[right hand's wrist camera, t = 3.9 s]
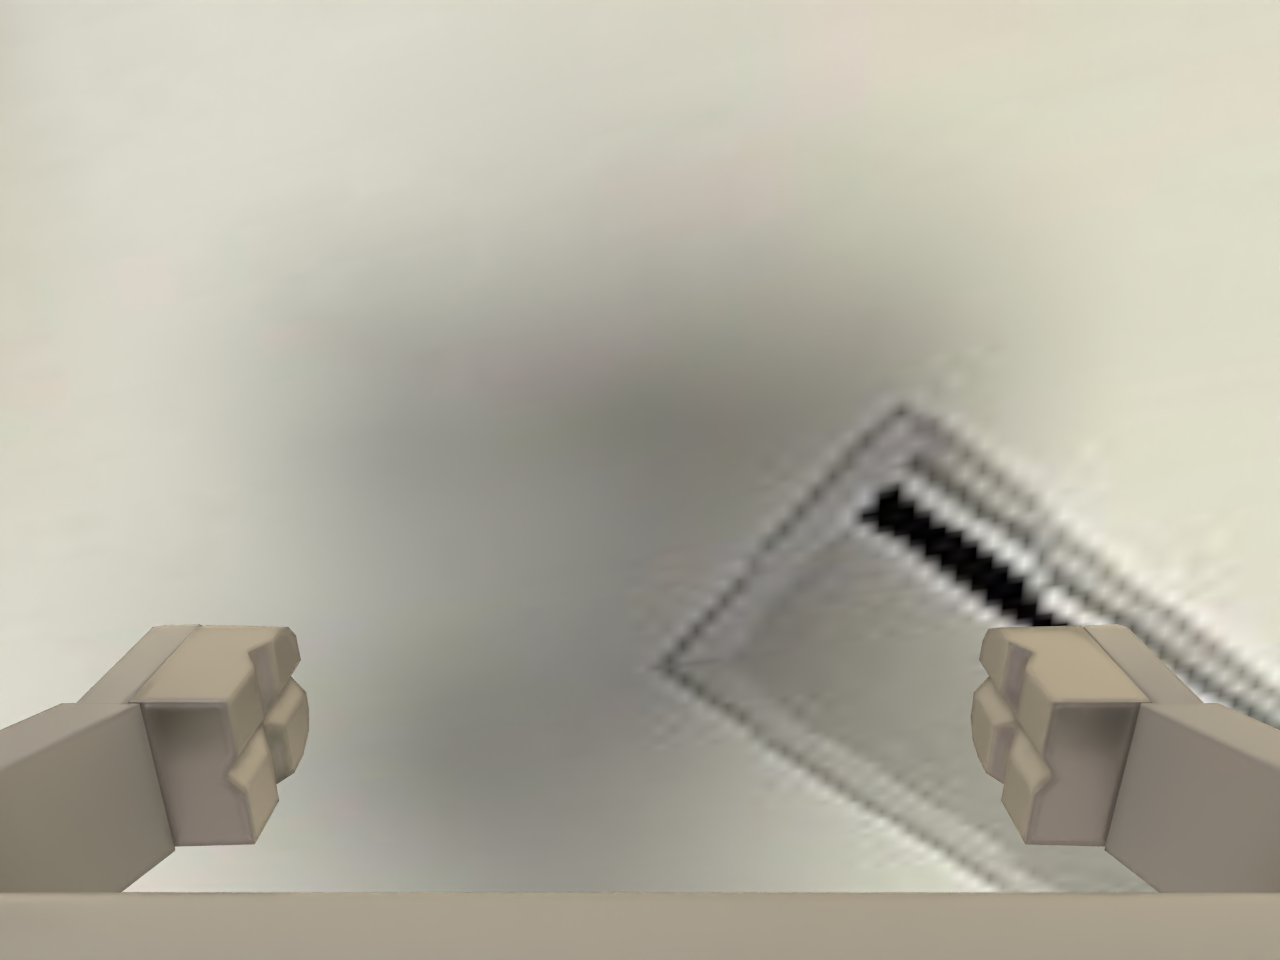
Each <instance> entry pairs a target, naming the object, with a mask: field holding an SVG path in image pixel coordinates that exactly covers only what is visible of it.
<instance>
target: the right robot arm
mask: <svg viewBox="0 0 1280 960" xmlns="http://www.w3.org/2000/svg"><path fill="white" fill-rule="evenodd" d="M300 661H301V658H300V653H299V648H298V643H297V638H296V635H295V634H294V633H293V632H292V630H291V629H290V628H289V627H266V626H214V625H206V626H202V625H163V626H157V627H153V628H152V629H151V630H150V631H149V632H148V633H147V634H146V635H144V636H143V637H142V638H141V639H140V640H139V641H138V642H137V643H136V644H135V645H134V646H133V647H132V648H131V649H130V650H129V651H128V652H127V653H126V654H125V655H124V656H123V657H122V658H121V659H120V660H119V661H118V662H117V663H116V664H115V665H114V666H113V667H112V668H111V669H110V670H109V671H108V672H107V673H106V674H105V675H104V676H103V677H102V678H101V679H100V680H99V681H98V682H97V683H96V684H95V685H94V686H93V687H92V688H91V689H90V690H89V691H88V692H87V693H86V694H85V695H84V696H83V697H82V698H81V699H80V700H79V701H78V702H77V703H62V704H59V705H57V706H55V707H52V708H50V709H48V710H45V711H43V712H41V713H39V714H36V715H34V716H32V717H29V718H27V719H25V720H23V721H20V722H18V723H16V724H13V725H11V726H9V727H6V728H4V729H2V730H0V960H1280V730H1278V729H1276V728H1273V727H1271V726H1269V725H1267V724H1264V723H1262V722H1260V721H1257V720H1255V719H1253V718H1251V717H1248V716H1246V715H1244V714H1241V713H1239V712H1237V711H1234V710H1232V709H1230V708H1228V707H1225V706H1223V705H1221V704H1218V703H1203V702H1202V701H1201V700H1200V699H1199V698H1198V697H1197V696H1196V695H1195V694H1194V693H1193V692H1192V691H1191V690H1190V689H1189V688H1188V687H1187V686H1186V685H1185V684H1184V683H1183V682H1182V681H1181V680H1180V679H1179V678H1178V677H1177V676H1176V675H1175V674H1174V673H1173V672H1172V671H1171V670H1170V669H1169V668H1168V667H1167V666H1166V665H1165V664H1164V663H1163V662H1162V661H1161V660H1160V659H1159V658H1158V657H1157V656H1156V655H1155V654H1154V653H1153V652H1152V651H1151V650H1150V649H1149V648H1148V647H1147V646H1146V645H1145V644H1144V643H1143V642H1142V641H1141V640H1140V639H1139V638H1138V637H1137V636H1136V635H1135V634H1134V633H1133V632H1132V631H1131V630H1130V629H1129V628H1126V627H1123V626H1121V625H1118V624H1113V625H1088V626H1047V627H1006V628H990V629H988V630H987V632H986V634H985V637H984V639H983V641H982V646H981V652H980V658H979V661H980V662H981V664H982V665H983V667H984V668H985V670H986V672H987V673H988V675H989V677H988V678H987V679H986V680H985V681H984V682H983V683H982V684H981V685H980V686H979V687H978V688H977V690H976V691H975V692H974V694H973V702H972V710H971V726H972V738H973V743H974V746H975V749H976V753H977V756H978V758H979V760H980V762H981V764H982V766H983V768H984V770H985V772H986V773H987V774H989V775H990V776H992V777H993V778H995V779H996V780H998V781H999V782H1001V783H1003V784H1004V786H1003V792H1002V798H1001V801H1002V803H1003V805H1004V807H1005V809H1006V810H1007V812H1008V814H1009V816H1010V818H1011V819H1012V821H1013V823H1014V825H1015V827H1016V828H1017V830H1018V832H1019V834H1020V836H1021V837H1022V839H1023V841H1024V843H1025V844H1033V845H1070V846H1105V851H1107V852H1108V853H1109V854H1110V855H1112V856H1113V857H1114V858H1116V859H1117V860H1118V861H1119V862H1121V863H1122V864H1123V865H1125V866H1126V867H1127V868H1129V869H1130V870H1131V871H1132V872H1134V873H1135V874H1136V875H1138V876H1139V877H1140V878H1141V879H1143V880H1144V881H1145V882H1147V883H1148V884H1149V885H1150V886H1152V887H1153V888H1154V889H1156V890H1157V891H1158V892H1159V893H157V892H122V891H123V890H125V889H126V888H127V887H129V886H130V885H131V884H132V883H134V882H135V881H136V880H138V879H139V878H140V877H141V876H143V875H144V874H145V873H147V872H148V871H149V870H151V869H152V868H153V867H154V866H156V865H157V864H158V863H160V862H161V861H162V860H163V859H165V858H166V857H167V856H169V855H170V854H171V853H172V852H174V851H175V847H174V846H209V845H244V844H255V843H256V841H257V839H258V837H259V836H260V834H261V832H262V830H263V828H264V827H265V825H266V823H267V821H268V819H269V818H270V816H271V814H272V812H273V810H274V809H275V807H276V805H277V803H278V801H279V798H278V792H277V786H276V784H278V783H279V782H281V781H282V780H284V779H285V778H287V777H288V776H290V775H291V774H293V773H294V772H295V770H296V768H297V766H298V764H299V762H300V760H301V758H302V756H303V754H304V749H305V745H306V740H307V736H308V732H309V708H308V701H307V694H306V692H305V691H304V690H303V689H302V687H301V686H300V685H299V684H298V683H297V682H296V681H295V680H294V679H293V678H292V677H291V675H292V673H293V672H294V670H295V668H296V667H297V665H298V664H299V662H300Z"/></svg>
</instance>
